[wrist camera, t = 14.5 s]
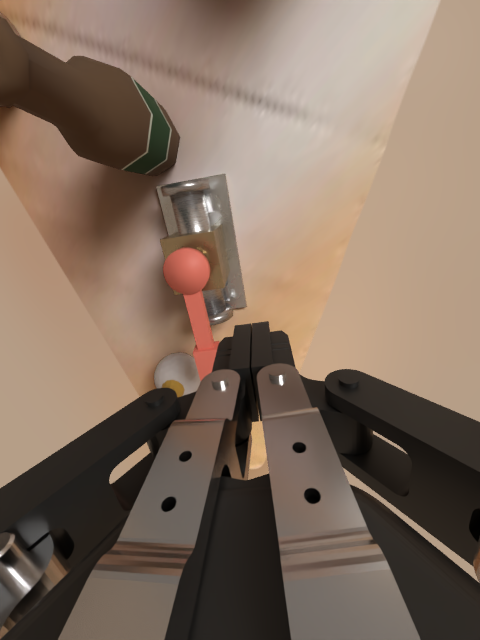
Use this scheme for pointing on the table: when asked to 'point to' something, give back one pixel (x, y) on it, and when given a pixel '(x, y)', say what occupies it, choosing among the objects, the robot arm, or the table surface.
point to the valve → (206, 238)
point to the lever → (193, 300)
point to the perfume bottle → (177, 374)
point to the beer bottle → (88, 106)
